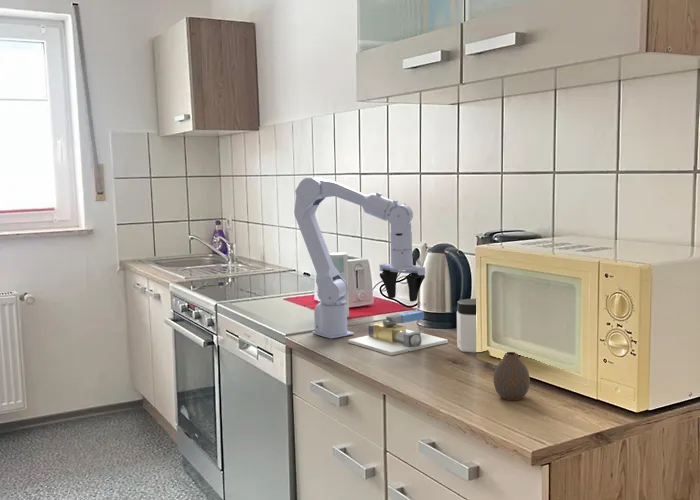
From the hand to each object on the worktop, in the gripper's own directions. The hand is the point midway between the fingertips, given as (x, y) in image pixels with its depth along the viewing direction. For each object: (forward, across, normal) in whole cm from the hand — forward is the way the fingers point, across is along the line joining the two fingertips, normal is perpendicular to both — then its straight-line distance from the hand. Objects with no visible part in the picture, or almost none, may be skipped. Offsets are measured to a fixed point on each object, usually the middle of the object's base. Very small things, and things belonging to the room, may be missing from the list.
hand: (402, 299), depth 187 cm
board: (+10, +3, -6) cm, 12 cm away
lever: (+6, +2, -2) cm, 6 cm away
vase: (+10, +49, -25) cm, 56 cm away
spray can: (+11, -33, +8) cm, 36 cm away
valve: (+9, +3, -7) cm, 12 cm away
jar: (+10, +22, +1) cm, 25 cm away
